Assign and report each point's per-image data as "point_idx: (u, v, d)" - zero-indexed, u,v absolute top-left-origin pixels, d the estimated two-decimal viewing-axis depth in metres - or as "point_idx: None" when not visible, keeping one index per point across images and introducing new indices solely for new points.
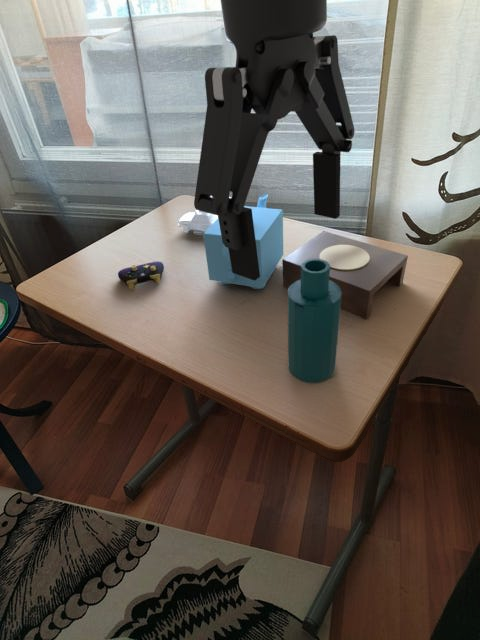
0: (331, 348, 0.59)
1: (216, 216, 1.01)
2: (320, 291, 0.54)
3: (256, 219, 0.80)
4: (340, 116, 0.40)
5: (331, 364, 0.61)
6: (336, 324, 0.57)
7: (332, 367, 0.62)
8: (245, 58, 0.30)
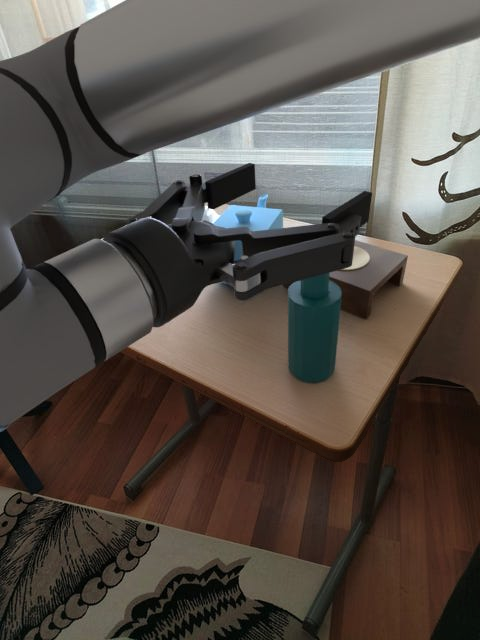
0: (331, 348, 0.59)
1: (216, 216, 1.01)
2: (320, 291, 0.54)
3: (256, 219, 0.80)
4: (175, 195, 0.40)
5: (331, 364, 0.61)
6: (336, 324, 0.57)
7: (332, 367, 0.62)
8: (210, 273, 0.30)
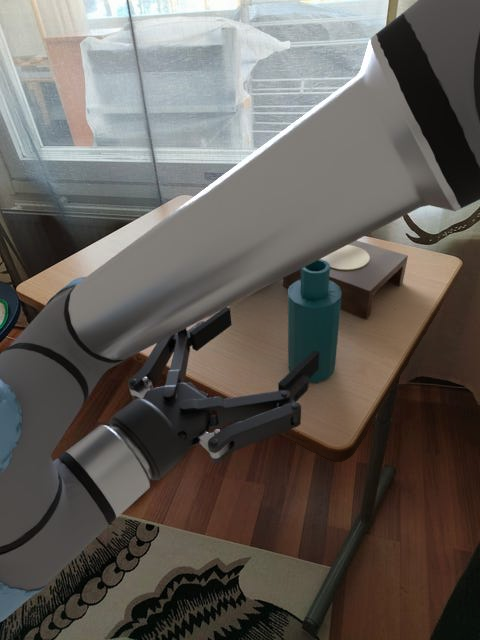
0: (331, 348, 0.59)
1: None
2: (320, 291, 0.54)
3: None
4: (166, 347, 0.50)
5: (331, 364, 0.61)
6: (336, 324, 0.57)
7: (332, 367, 0.62)
8: (191, 440, 0.41)
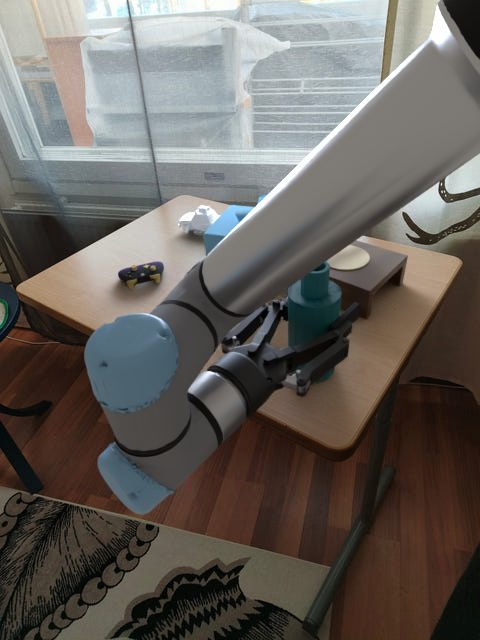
0: None
1: (216, 216, 1.01)
2: (320, 291, 0.54)
3: None
4: (258, 316, 0.59)
5: None
6: None
7: None
8: (275, 385, 0.50)
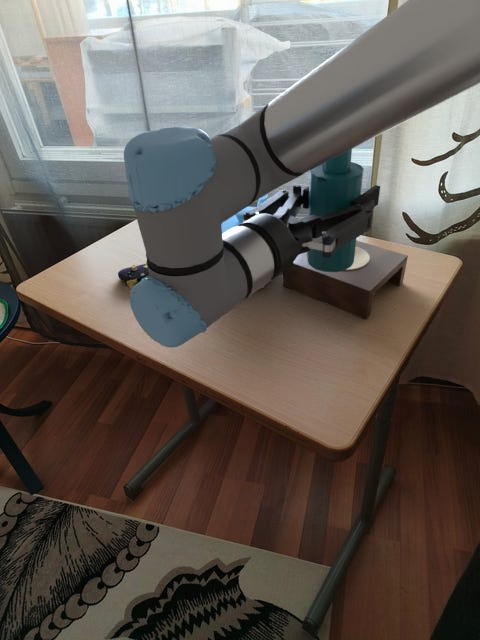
0: None
1: None
2: (343, 164, 0.54)
3: None
4: (279, 199, 0.59)
5: (351, 251, 0.62)
6: None
7: (352, 256, 0.62)
8: (301, 246, 0.50)
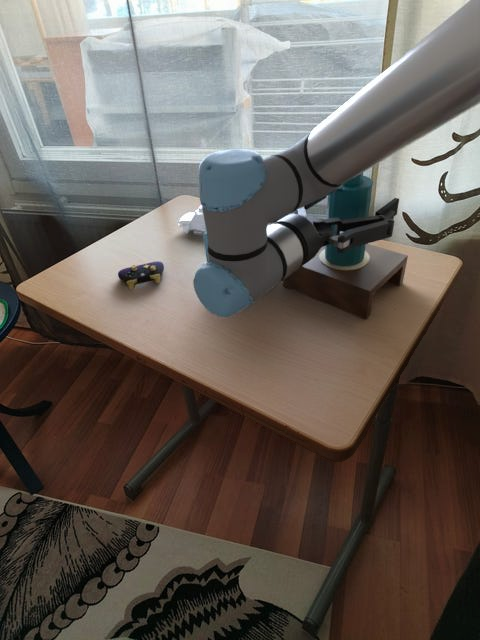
0: None
1: None
2: (356, 178, 0.67)
3: None
4: None
5: (362, 249, 0.74)
6: (368, 209, 0.70)
7: (362, 253, 0.75)
8: (324, 240, 0.62)
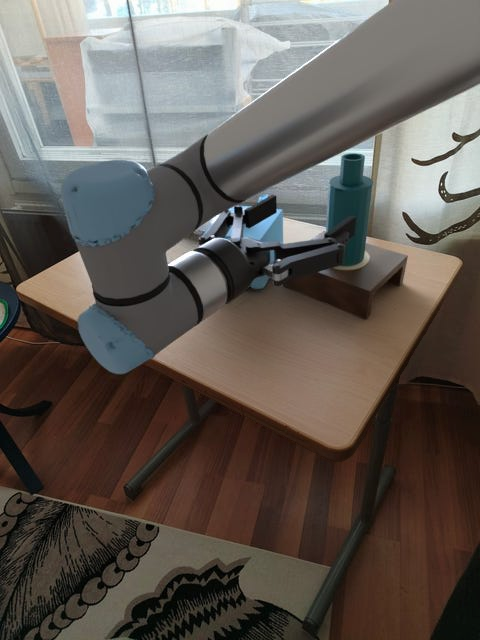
0: (363, 232, 0.72)
1: (216, 216, 1.01)
2: (356, 178, 0.67)
3: None
4: (225, 220, 0.60)
5: (362, 249, 0.74)
6: (368, 209, 0.70)
7: (362, 253, 0.75)
8: (257, 270, 0.50)
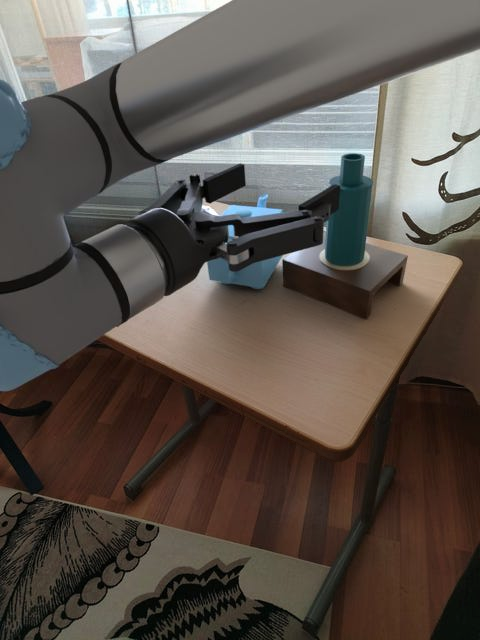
0: (363, 232, 0.72)
1: None
2: (356, 178, 0.67)
3: None
4: (178, 191, 0.48)
5: (362, 249, 0.74)
6: (368, 209, 0.70)
7: (362, 253, 0.75)
8: (208, 251, 0.38)
